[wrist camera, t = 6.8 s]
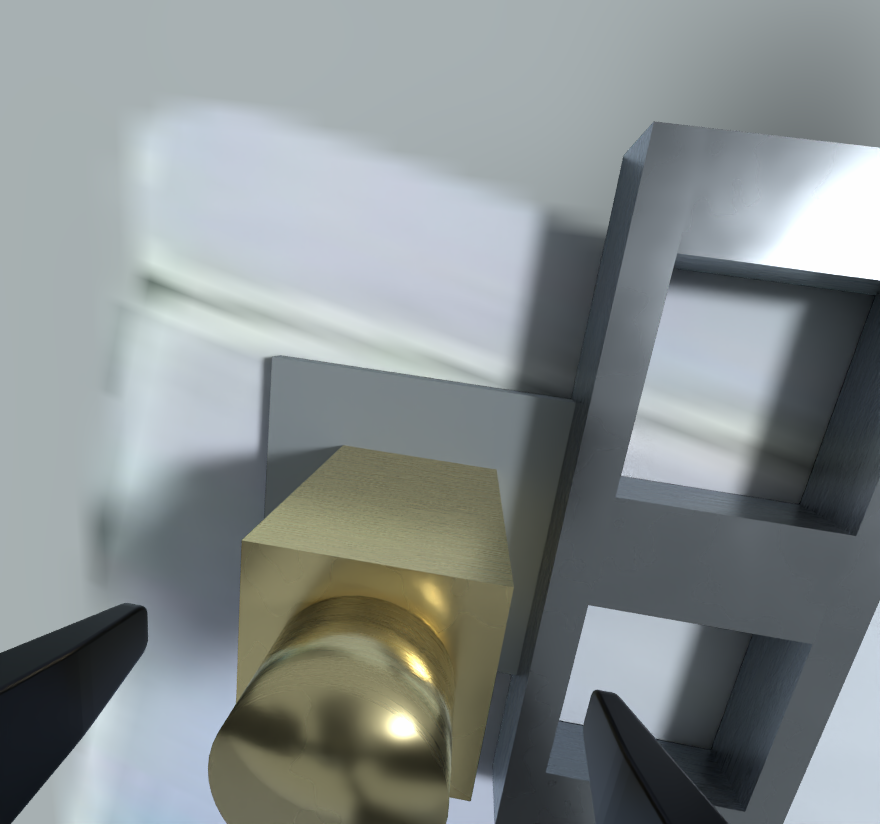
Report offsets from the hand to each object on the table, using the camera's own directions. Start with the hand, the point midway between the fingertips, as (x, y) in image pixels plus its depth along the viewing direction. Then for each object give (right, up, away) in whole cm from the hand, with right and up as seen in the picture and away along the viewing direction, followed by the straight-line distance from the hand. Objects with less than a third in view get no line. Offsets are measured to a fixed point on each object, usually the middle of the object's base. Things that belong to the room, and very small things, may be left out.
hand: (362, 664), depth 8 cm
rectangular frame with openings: (+10, +1, +6) cm, 11 cm away
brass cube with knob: (+1, +1, +6) cm, 6 cm away
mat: (+1, +1, +6) cm, 6 cm away
